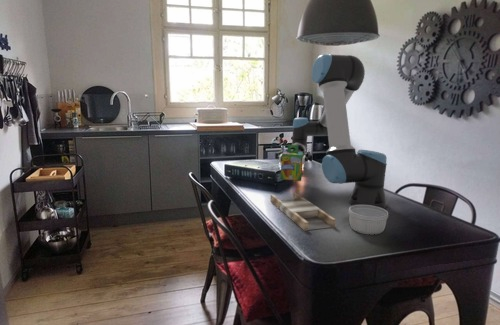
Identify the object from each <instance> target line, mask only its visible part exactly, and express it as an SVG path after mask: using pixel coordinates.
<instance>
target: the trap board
mask: <svg viewBox="0 0 500 325" xmlns="http://www.w3.org/2000/svg"><path fill="white" fill-rule="evenodd" d="M270 202H271V203H272V205H274V206H275V207H276V208H278V209H279V210H280V211H281V212H282V213H284V215H285V216H287V217H288V218H289V219H290V220H291V221H293V222H294V223H295V224H296V225H297V226H298V227H300V228H301V229H302V230H303V231H304V232H305V231H306V232H307V231H315V230H322V229H323V230H325V229H331V228H336V222H337V221H336V218H334V217H333V216H332V215H330V214H329V213H327V212H326V211H324V210H323V209H321V208H320V207H318V206H316V205H315V204H314V203H312V202H310V201H309V200H307V199H306V198H305V197H303V196H301V195H300V194H299V193H297V192H293V194H292V198H289V199H279V198H278V197H277V196H276V195H274V194H270Z"/></svg>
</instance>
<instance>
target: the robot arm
mask: <svg viewBox="0 0 500 325" xmlns="http://www.w3.org/2000/svg"><path fill="white" fill-rule="evenodd" d="M365 72H366V70H365V66H364V64H363V62H362V61H361V60H360V58H358V57H357V56H354V55H349V54H347V55H346V54H344V55H343V54H331V53H328V54H320V55H319V56H317V57H316V59H315V60H314V62H313V66H312V68H311V78H312V81H313V82H314V83H315V84H318V89H319V91H321V92H322V94H323V102H324V103H323V104H324V110H323V112H322V114H321V115H320V118H318V120H315V121H309V118H307V117H295V118H294V119H293V121H292V122H293V123H292V142H291V145H298V152H303V158H302V165H305V163H306V162H308V161H309V162H312V161H313V154H311V151H308V137H327V139H328V146H329V148H328V149H327V150H326V153H325V156H324V157H323V158H322V160H321V161H322V162H321V170H322V174H323V175H324V177H325V179H327V181H328V182H329V183H331V184H339V185H341V184H349V183H354V186H353V189H352V192H351V193H350V196H349V204H350V206H353V205H372V206H377V207H380V208H383V209H385V208H387V197H386V192H385V190H384V189H385V188H384V187H385V180H386V172H387V170H386V169H387V165H388V164H387V155H386V154H384V153H383V152H378V151H374V150H368V149H358V150H357V153H356V148H355V147H354V146H353V145H352V144H351V136H350V128H349V126H350V125H349V121H348V119H349V118H348V110H347V104H348V102H349V100H350V99H351V97H352V96H353V94H354V93H355V92H357V91H359V89H360V87H361V86H362V84H363V82H364V79H365V75H366V74H365ZM290 150H291V151H295V148H293V147H292V148H291V149H290ZM283 151H285V150H284V149H282V150H279V151H277V152H275V154H274V159H275V160H278V163H281V162H282V153H283Z"/></svg>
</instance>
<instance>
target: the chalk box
mask: <svg viewBox="0 0 500 325" xmlns="http://www.w3.org/2000/svg"><path fill="white" fill-rule="evenodd" d="M292 147H293V148H295V151H291V150H290V149H291V148H292ZM302 158H303V152H298V145H292V144H288V145H287V149H286V150H284V151H283V153H282V161H281V164H280V180H281V181H282V180H283V181H296V182H301V181H302V177H303V176H302V175H303V164H302Z"/></svg>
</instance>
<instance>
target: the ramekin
mask: <svg viewBox="0 0 500 325" xmlns="http://www.w3.org/2000/svg"><path fill="white" fill-rule="evenodd" d="M348 217H349V227H350V228H351V229H352V230H353V231H354V232H356V231H357V232H356V233H359V234H364V235H369V234H370V235H373V236H374V234H375V235H379V234H381V233H383V232H384V230H385V228H386V224H387V220H388V218H389V211H388V210H386V209H385V208H384V209H383V208H380V207H377V206H372V205H350V206H349V208H348Z"/></svg>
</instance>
